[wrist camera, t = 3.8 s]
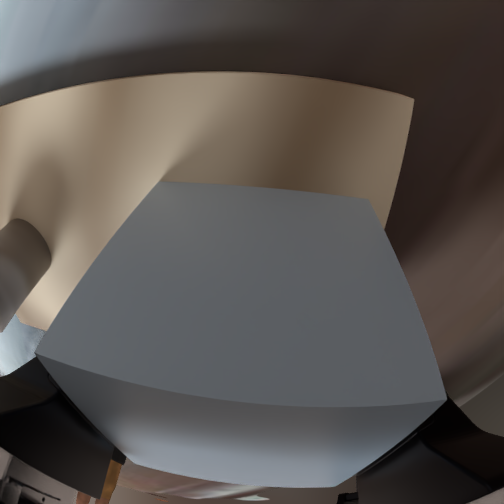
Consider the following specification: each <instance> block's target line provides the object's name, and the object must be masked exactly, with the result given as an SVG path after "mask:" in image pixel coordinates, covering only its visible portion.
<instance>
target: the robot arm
mask: <svg viewBox="0 0 504 504" xmlns="http://www.w3.org/2000/svg"><path fill="white" fill-rule="evenodd" d="M445 393H446V396H447V400H446V401H445V402H444V403H443V404H442V405H441V406H440V407H439V408H438V409H437V410H436V411H435V412H434V413H433V414H432V415H430V416H429V417H428V418H427V419H426V420H425V421H424V422H423V423H422V424H420V425H419V426H418V427H417V428H416V429H415V430H413V431H412V432H411V433H410V434H409V435H407V436H406V437H405V438H404V439H403V440H401V441H400V442H399V443H397V444H396V445H395V446H394V447H392V448H391V449H390V450H388V451H387V452H386V453H384V454H383V455H382V456H380V457H379V458H378V459H376V460H375V461H373V462H372V463H371V464H369V465H368V466H366V467H365V468H363V469H362V470H360V471H359V472H357V473H356V474H354V475H353V476H356V488H357V492H355V493H342V494H339V495H338V501H337V504H504V437H502V436H498V435H494V434H491V433H488V432H485V431H483V430H481V429H480V428H478V427H477V426H476V425H475V424H474V423H473V422H472V421H471V420H470V419H469V418H468V417H467V416H466V415H465V414H464V412H463V411H462V410H461V409H460V408H459V407H458V406H457V405H456V404H455V403H454V402H453V401H452V400H451V398H450V397H449V396H448V395H447V392H445ZM114 446H115V445H114V444H112V443H111V442H110V441H109V440H108V439H107V438H106V437H105V436H104V435H103V434H102V433H101V432H100V431H99V430H98V429H97V428H96V427H95V426H94V425H93V424H92V423H91V421H90V420H89V419H88V418H87V417H86V416H85V415H84V414H83V413H82V412H81V411H80V410H79V408H78V407H77V406H76V405H75V404H74V403H73V402H72V400H71V399H70V398H69V397H68V396H67V395H66V393H65V392H64V391H63V390H62V389H61V387H60V386H59V385H58V384H57V382H56V381H55V380H54V379H53V377H52V376H51V375H50V373H49V372H48V371H47V370H46V368H45V367H44V366H43V364H42V363H41V361H40V360H39V359H38V357H37V356H36V357H35V358H33V359H32V360H30V361H29V362H27V363H26V364H24V365H23V366H21V367H20V368H18V369H17V370H15V371H14V372H12V373H10V374H8V375H6V376H3V377H0V504H73V501H74V497H75V494H76V490H77V491H80V492H82V493H84V494H87V495H89V496H91V497H94V498H96V499H99V500H100V498H101V495H102V491H103V487H104V483H105V479H106V475H107V472H108V468H109V464H110V461H111V457H112V454H113V450H114V448H113V447H114Z"/></svg>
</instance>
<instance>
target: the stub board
mask: <svg viewBox="0 0 504 504" xmlns="http://www.w3.org/2000/svg"><path fill="white" fill-rule="evenodd" d="M413 105H414V99H413V98H410V97H407V96H405V95H402V94H399V93H395V92H391V91H386V90H382V89H378V88H373V87H368V86H363V85H358V84H353V83H347V82H341V81H335V80H329V79H322V78H314V77H306V76H298V75H288V74H276V73H261V72H236V71H200V72H175V73H161V74H149V75H139V76H131V77H123V78H115V79H109V80H102V81H96V82H91V83H85V84H80V85H75V86H71V87H66V88H62V89H57V90H53V91H49V92H45V93H41V94H38V95H34V96H30V97H27V98H24V99H20V100H17V101H14V102H11V103H8V104H5V105H2V106H0V333H1V332H3V330H4V329H5V327H6V326H7V325H8V323H9V322H10V320H11V319H12V317H13V316H14V314H15V313H16V315H17V317H18V318H19V320H20V322H21V323H24V324H27V325H30V326H33V327H36V328H39V329H42V330H45V331H47V330H48V328H49V327H50V325H51V323H52V322H53V320H54V319H55V317H56V316H57V314H58V312H59V311H60V309H61V308H62V306H63V305H64V303H65V302H66V300H67V299H68V297H69V296H70V294H71V293H72V291H73V290H74V288H75V287H76V286H77V284H78V283H79V281H80V280H81V278H82V277H83V276H84V274H85V273H86V271H87V270H88V269H89V267H90V266H91V264H92V263H93V262H94V260H95V259H96V258H97V256H98V255H99V254H100V252H101V251H102V250H103V248H104V247H105V246H106V244H107V243H108V242H109V241H110V239H111V238H112V237H113V235H114V234H115V233H116V232H117V230H118V229H119V228H120V227H121V225H122V224H123V223H124V222H125V220H126V219H127V218H128V217H129V215H130V214H131V213H132V212H133V211H134V209H135V208H136V207H137V206H138V205H139V203H140V202H141V201H142V200H143V199H144V198H145V196H146V195H147V194H148V193H149V192H150V191H151V190H152V188H153V187H154V186H155V185H156V184H157V183H158V182H159V181H161V182H187V183H207V184H224V185H238V186H252V187H264V188H275V189H286V190H296V191H306V192H315V193H324V194H332V195H340V196H348V197H356V198H363V199H369V201H370V203H371V205H372V207H373V209H374V211H375V213H376V215H377V217H378V219H379V221H380V223H381V225H382V227H383V229H385V225H386V222H387V218H388V215H389V211H390V208H391V204H392V201H393V197H394V193H395V189H396V185H397V181H398V177H399V173H400V169H401V165H402V160H403V156H404V152H405V147H406V142H407V137H408V132H409V127H410V122H411V116H412V111H413Z"/></svg>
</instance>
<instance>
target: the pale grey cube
mask: <svg viewBox="0 0 504 504" xmlns="http://www.w3.org/2000/svg"><path fill="white" fill-rule="evenodd" d="M34 353H35V354H36V356H37V357H38V359H39V360H40V361H41V363H42V364H43V366H44V367H45V368H46V370H47V371H48V372H49V373H50V375H51V376H52V377H53V379H54V380H55V381H56V382H57V384H58V385H59V386H60V387H61V389H62V390H63V391H64V392H65V393H66V395H67V396H68V397H69V398H70V399H71V400H72V402H73V403H74V404H75V405H76V406H77V407H78V408H79V410H80V411H81V412H82V413H83V414H84V415H85V416H86V417H87V418H88V419H89V420H90V421H91V423H92V424H93V425H94V426H95V427H96V428H97V429H98V430H99V431H100V432H101V433H102V434H103V435H104V436H105V437H106V438H107V439H108V440H109V441H110V442H111V443H112V444H114V445H115V446H116V447H117V448H118V449H119V450H120V451H121V452H122V453H123V454H124V455H125V456H127V457H128V458H129V459H130V460H131V461H132V462H133V463H135V464H138V465H142V466H145V467H149V468H153V469H157V470H161V471H165V472H170V473H174V474H179V475H184V476H189V477H194V478H200V479H205V480H212V481H219V482H226V483H234V484H243V485H254V486H269V487H335V486H337V485H338V484H340V483H341V482H343V481H345V480H346V479H348V478H350V477H351V476H353V475H354V474H356V473H357V472H359V471H360V470H362V469H363V468H365V467H366V466H368V465H369V464H371V463H372V462H373V461H375V460H376V459H378V458H379V457H380V456H382V455H383V454H384V453H386V452H387V451H388V450H390V449H391V448H392V447H394V446H395V445H396V444H397V443H399V442H400V441H401V440H403V439H404V438H405V437H406V436H407V435H409V434H410V433H411V432H412V431H413V430H415V429H416V428H417V427H418V426H419V425H420V424H422V423H423V422H424V421H425V420H426V419H427V418H428V417H429V416H430V415H432V414H433V413H434V412H435V411H436V410H437V409H438V408H439V407H440V406H441V405H442V404H443V403H444V402H445V401H446V400H447V396H446V393H445V389H444V385H443V382H442V378H441V375H440V372H439V368H438V365H437V362H436V359H435V355H434V352H433V349H432V346H431V343H430V340H429V337H428V335H427V332H426V329H425V326H424V323H423V321H422V318H421V315H420V313H419V310H418V307H417V305H416V302H415V300H414V297H413V295H412V292H411V290H410V287H409V285H408V282H407V280H406V277H405V275H404V273H403V270H402V268H401V266H400V264H399V261H398V259H397V257H396V255H395V252H394V250H393V248H392V246H391V244H390V242H389V240H388V237H387V235H386V233H385V231H384V229H383V227H382V225H381V223H380V221H379V219H378V217H377V215H376V213H375V211H374V209H373V207H372V205H371V203H370V201H369V199H363V198H356V197H348V196H340V195H332V194H324V193H315V192H306V191H296V190H286V189H275V188H264V187H252V186H238V185H224V184H207V183H187V182H161V181H159V182H158V183H157V184H156V185H155V186H154V187H153V188H152V190H151V191H150V192H149V193H148V194H147V195H146V196H145V198H144V199H143V200H142V201H141V202H140V203H139V205H138V206H137V207H136V208H135V209H134V211H133V212H132V213H131V214H130V215H129V217H128V218H127V219H126V220H125V222H124V223H123V224H122V225H121V227H120V228H119V229H118V230H117V232H116V233H115V234H114V235H113V237H112V238H111V239H110V241H109V242H108V243H107V244H106V246H105V247H104V248H103V250H102V251H101V252H100V254H99V255H98V256H97V258H96V259H95V260H94V262H93V263H92V264H91V266H90V267H89V269H88V270H87V271H86V273H85V274H84V276H83V277H82V278H81V280H80V281H79V283H78V284H77V286H76V287H75V288H74V290H73V291H72V293H71V294H70V296H69V297H68V299H67V300H66V302H65V303H64V305H63V306H62V308H61V309H60V311H59V312H58V314H57V316H56V317H55V319H54V320H53V322H52V323H51V325H50V327H49V328H48V330H47V332H46V333H45V335H44V337H43V338H42V340H41V342H40V343H39V345H38V347H37V348H36V350H35V352H34Z"/></svg>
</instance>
